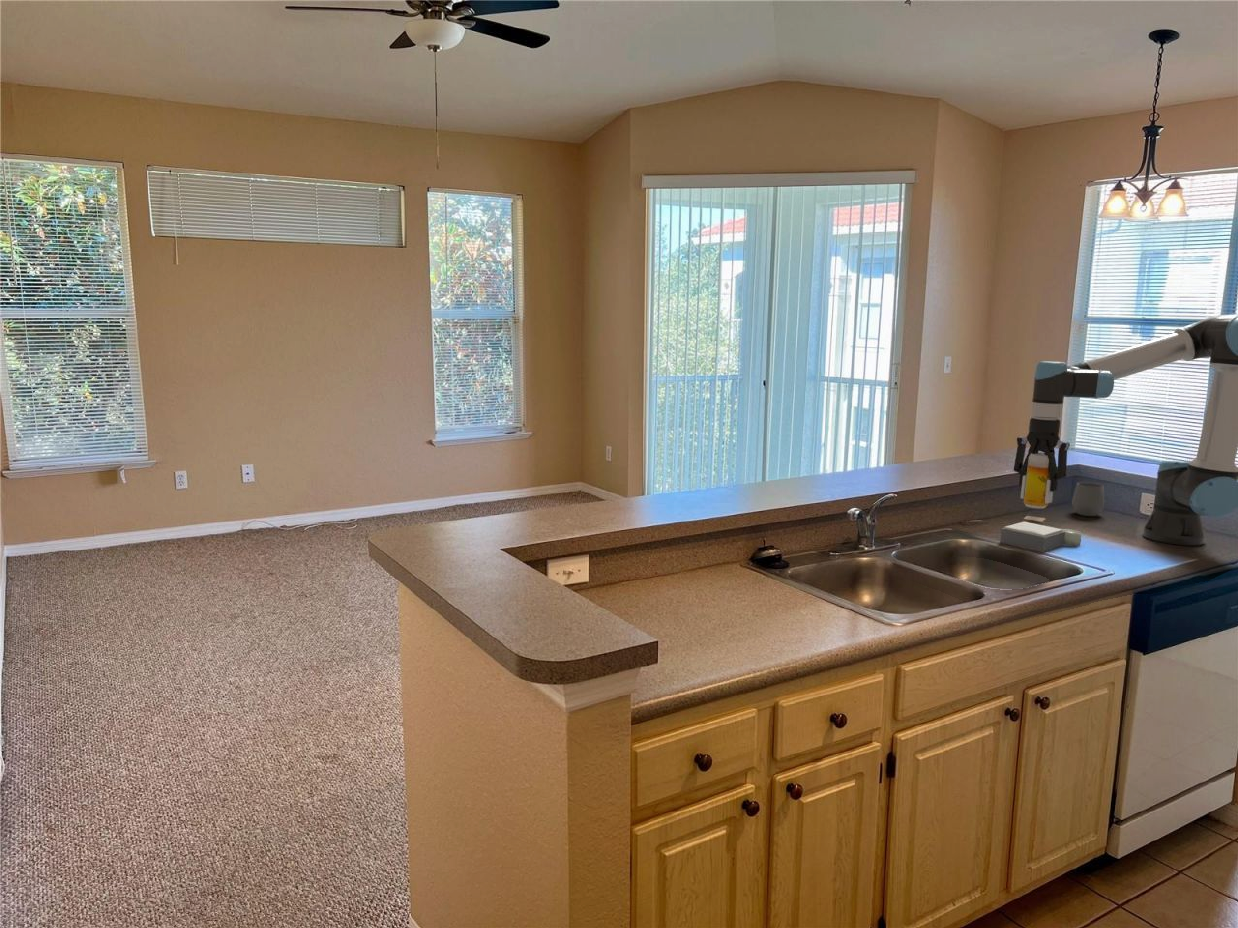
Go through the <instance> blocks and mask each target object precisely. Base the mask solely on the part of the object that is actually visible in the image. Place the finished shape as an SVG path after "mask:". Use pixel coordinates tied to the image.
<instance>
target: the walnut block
mask: <svg viewBox="0 0 1238 928" xmlns="http://www.w3.org/2000/svg"><path fill="white" fill-rule="evenodd" d="M1022 522H1029V523H1034V524H1039V525H1044V526H1046V518H1045V517H1038V516H1030V515H1026V516H1025V517H1023V519H1022Z"/></svg>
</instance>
